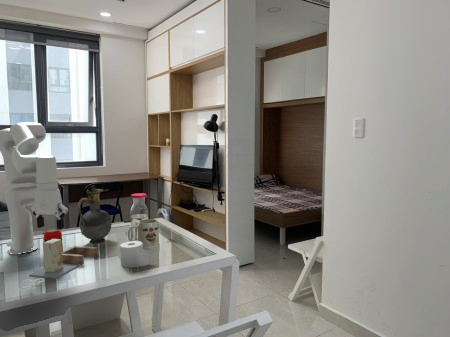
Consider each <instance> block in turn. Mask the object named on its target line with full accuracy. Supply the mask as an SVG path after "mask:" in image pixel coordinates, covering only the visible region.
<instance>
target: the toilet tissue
mask: <svg viewBox="0 0 450 337" xmlns="http://www.w3.org/2000/svg"><path fill="white" fill-rule="evenodd" d="M119 253H120V257H119V258H120V266H121V267H122V268H126V267H127V268H128V269H130V267H131V268H138V267H139V266H140V267H145V266H149V265H150V262H151V258H152V253H153V251H151V250H147V249H145V248H144V243H143V242H142V241H141V240H130V241H129V240H128V241H125V242H122V243H121V244H119Z"/></svg>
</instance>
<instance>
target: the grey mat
mask: <svg viewBox="0 0 450 337" xmlns="http://www.w3.org/2000/svg"><path fill="white" fill-rule="evenodd" d="M78 267H79V265H71V264H63V268H61V269H59V270H57V271H55V272H45V268H44V267H42V268H40V269H39V270H36V271H34V272H32V273H30V274H29V275H28V276H29V277H33V278H34V277H35V278H46V279H55V280H57V279H58V278H60V277H62V276H64V275H66V274H68V273H70V272H72V271H73V270H76V269H77V268H78Z"/></svg>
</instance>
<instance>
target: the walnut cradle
mask: <svg viewBox="0 0 450 337" xmlns="http://www.w3.org/2000/svg"><path fill="white" fill-rule="evenodd" d="M99 252H100V251H99V247H95V246H80V245H79V246H78V245H75V246H72V247H70V248H67V249H65V250H63V252H62V256H63V264H70V265H78V266H83V265H85V260H84V259H85V257H93V258H97V257H99V256H100V253H99Z"/></svg>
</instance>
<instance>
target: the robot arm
mask: <svg viewBox="0 0 450 337" xmlns="http://www.w3.org/2000/svg"><path fill="white" fill-rule="evenodd" d="M46 136H47V131H46V128H45V127H44V125H43V124H42V123H40V122H39V123H38V122H17V123H14V124H12V125H11V126H10V127H9V128H4V129H0V153H1V154H0V155H1V156H2V158H3V159H2V161H3V165H4V173H5V179H6V181H7V182H6V183H8V184H9V185H12V186H13V185H15V186H17V185H25V186H18V187H12V188H9V189H8V190H6V192H5V194H4V199H5V203H6V207H7V210H8V211H7V212H8V219H9V220H8V221H9V230H10V239H11V240H10V241H9V242H8V243H7V244H6V247H10V249H9V250H8V254H9V253H12V254H11V255H19V254H18V253H23V252H28V251H31V250H33V249H31V248H33V247H34V245H35V240H34V230H33V229H34V228H33V217H32V214H33V215H34V218H35V219H36V227H37V228H38V229H41V228H44V227H45V217H44V216H55V217H56V218H57V219H56V229H59V230H61V229H64V227H65V223H64V222H65V221H64V219H65V218H66V216H67V215H68V211H69V208H68V207H66V206H65V205H64V204H63V200H62V195H61V190H60V189H59V184H58V170H57V159H56V157H55V156H54V155H50V154H34V153H35V152H36V151H37V150H39V148H40V147H39V146H40V144H41V143H42V142H43V141H44V140H45V139H46ZM26 184H32V185H28V186H26ZM28 206H31V207H30V210H31V211H30V210H29V209H27V208H26V207H28ZM31 212H32V213H31ZM37 228H36V229H37Z"/></svg>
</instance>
